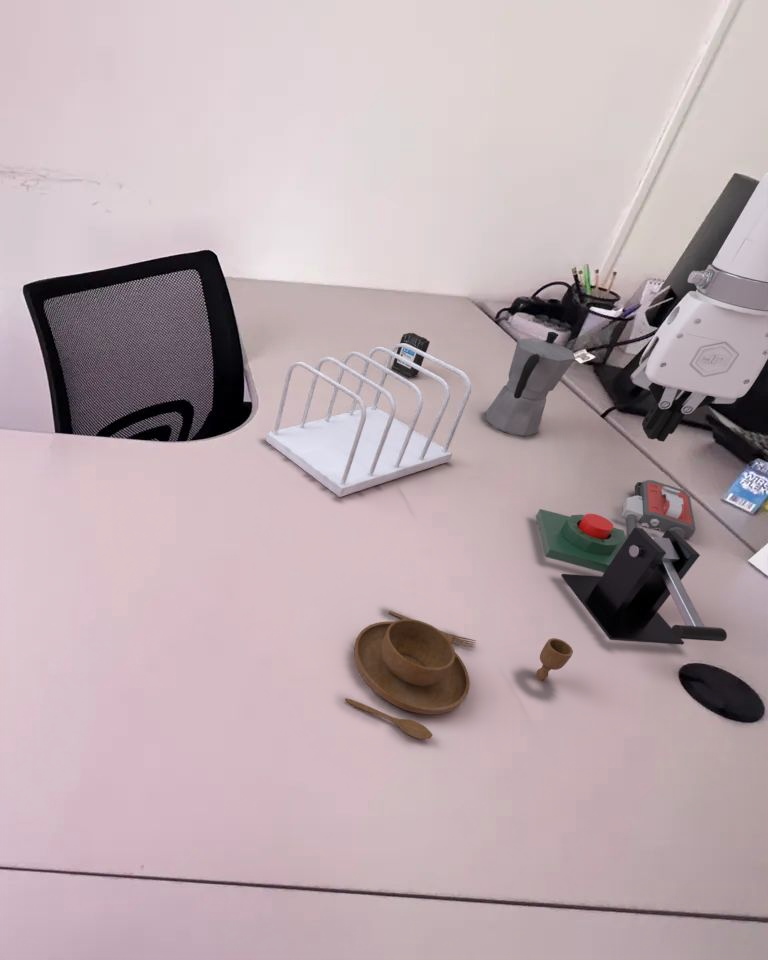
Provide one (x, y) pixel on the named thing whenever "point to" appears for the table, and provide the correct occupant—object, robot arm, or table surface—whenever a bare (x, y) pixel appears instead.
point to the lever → (683, 599)
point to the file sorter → (364, 431)
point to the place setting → (424, 668)
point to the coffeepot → (529, 385)
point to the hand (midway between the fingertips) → (652, 434)
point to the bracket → (633, 589)
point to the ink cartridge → (410, 354)
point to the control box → (576, 541)
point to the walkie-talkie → (660, 509)
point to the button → (596, 526)
